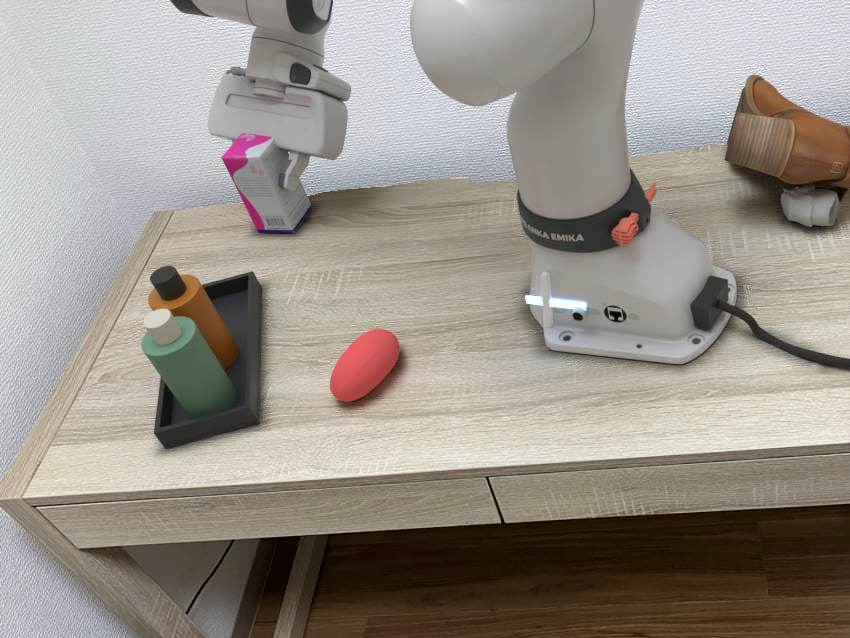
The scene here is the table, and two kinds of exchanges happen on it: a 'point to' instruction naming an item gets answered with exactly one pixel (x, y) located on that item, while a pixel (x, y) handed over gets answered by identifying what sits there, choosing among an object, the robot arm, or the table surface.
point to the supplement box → (265, 184)
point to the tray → (243, 321)
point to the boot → (787, 139)
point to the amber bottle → (193, 310)
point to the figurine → (810, 205)
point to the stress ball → (364, 364)
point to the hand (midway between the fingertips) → (264, 184)
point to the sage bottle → (187, 364)
